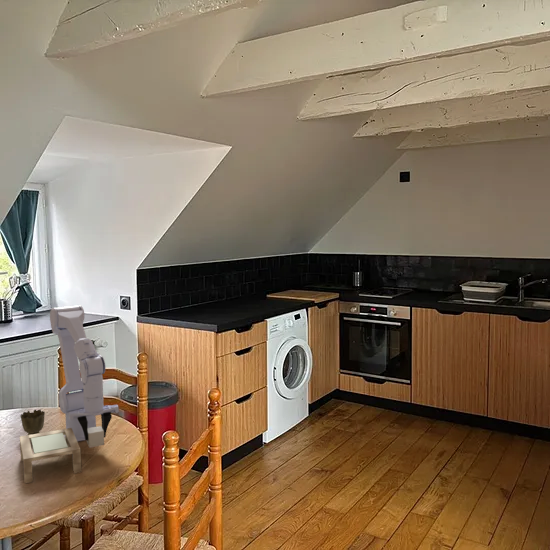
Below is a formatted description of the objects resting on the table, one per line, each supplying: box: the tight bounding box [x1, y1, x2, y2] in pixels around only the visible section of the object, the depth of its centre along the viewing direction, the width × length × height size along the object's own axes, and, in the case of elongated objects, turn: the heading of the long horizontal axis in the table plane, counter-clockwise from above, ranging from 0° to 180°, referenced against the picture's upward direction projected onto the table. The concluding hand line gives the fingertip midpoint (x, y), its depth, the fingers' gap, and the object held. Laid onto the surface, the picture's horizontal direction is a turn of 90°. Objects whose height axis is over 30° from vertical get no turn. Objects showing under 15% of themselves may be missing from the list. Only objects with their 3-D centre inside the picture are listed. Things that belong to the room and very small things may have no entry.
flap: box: [30, 433, 70, 456], centre depth 168 cm, size 10×12×3 cm
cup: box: [20, 409, 46, 435], centre depth 190 cm, size 8×7×8 cm
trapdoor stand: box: [19, 428, 82, 484], centre depth 168 cm, size 15×18×7 cm
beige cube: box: [86, 425, 105, 448], centre depth 176 cm, size 4×4×4 cm
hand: (95, 437), depth 176 cm, fingers closed on beige cube, 4 cm apart
